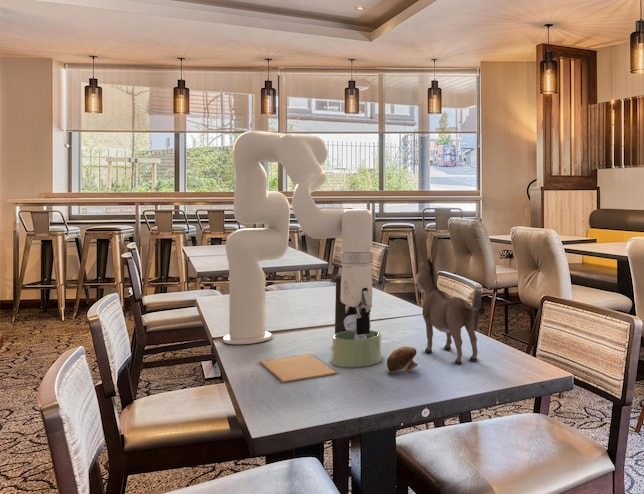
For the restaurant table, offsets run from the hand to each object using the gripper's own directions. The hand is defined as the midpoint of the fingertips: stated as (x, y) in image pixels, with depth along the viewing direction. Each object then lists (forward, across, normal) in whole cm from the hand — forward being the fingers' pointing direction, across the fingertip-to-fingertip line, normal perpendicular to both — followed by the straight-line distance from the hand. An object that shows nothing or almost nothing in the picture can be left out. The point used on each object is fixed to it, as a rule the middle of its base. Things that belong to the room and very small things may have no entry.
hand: (357, 330), depth 154 cm
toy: (+8, +8, +21) cm, 24 cm away
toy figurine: (+7, 0, 0) cm, 7 cm away
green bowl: (+7, 0, 0) cm, 7 cm away
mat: (+7, -2, -14) cm, 16 cm away
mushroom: (+8, +15, +5) cm, 17 cm away
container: (+8, -15, +4) cm, 17 cm away
